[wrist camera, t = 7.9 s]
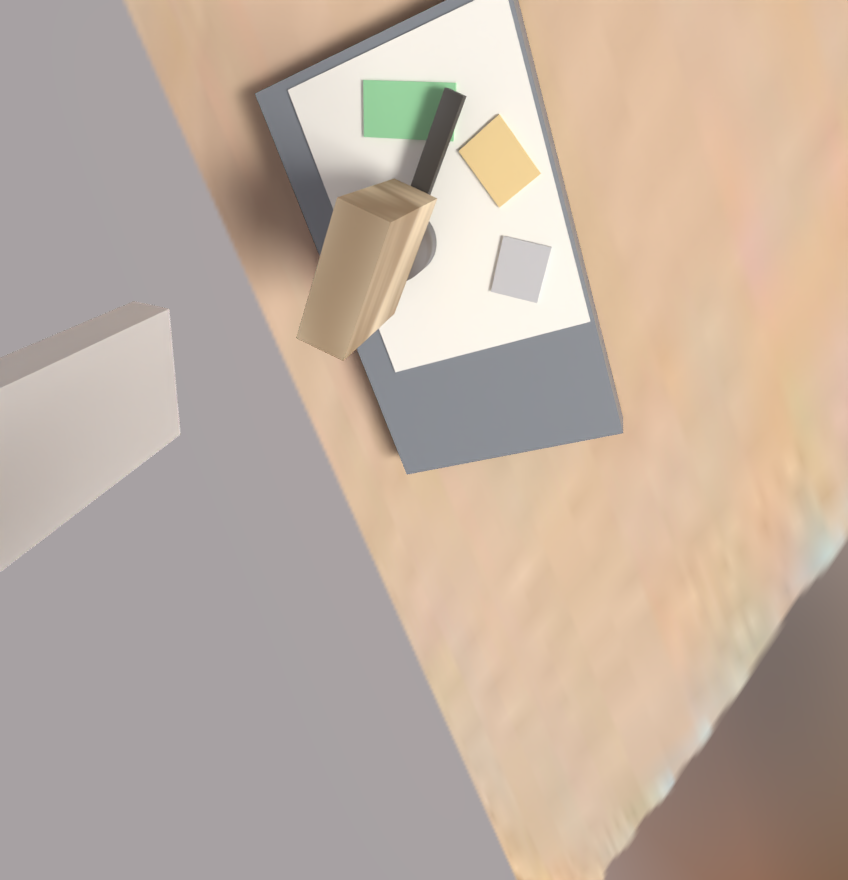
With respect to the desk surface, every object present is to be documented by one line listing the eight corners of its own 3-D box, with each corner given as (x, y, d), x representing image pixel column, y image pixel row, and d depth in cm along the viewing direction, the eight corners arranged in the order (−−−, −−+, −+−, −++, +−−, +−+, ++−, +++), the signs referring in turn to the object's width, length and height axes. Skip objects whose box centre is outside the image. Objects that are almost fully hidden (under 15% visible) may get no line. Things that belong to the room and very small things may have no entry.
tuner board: (273, 94, 34) (251, 93, 31) (512, -22, 29) (504, -31, 27) (415, 459, 41) (405, 477, 39) (622, 417, 36) (622, 436, 34)
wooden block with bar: (360, 281, 34) (285, 333, 27) (428, 77, 29) (359, 68, 21) (414, 307, 34) (354, 366, 27) (492, 106, 29) (445, 108, 21)
